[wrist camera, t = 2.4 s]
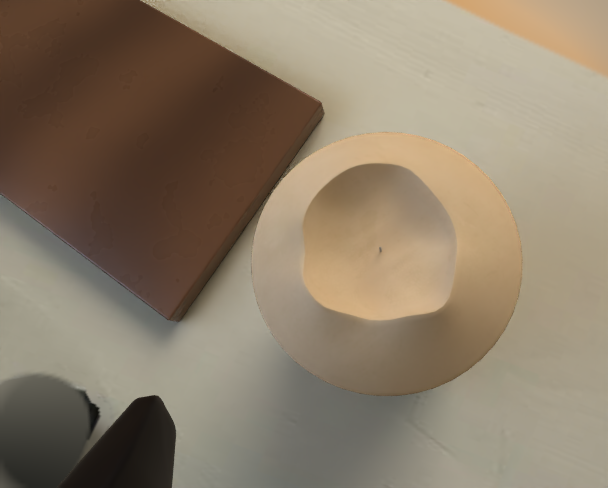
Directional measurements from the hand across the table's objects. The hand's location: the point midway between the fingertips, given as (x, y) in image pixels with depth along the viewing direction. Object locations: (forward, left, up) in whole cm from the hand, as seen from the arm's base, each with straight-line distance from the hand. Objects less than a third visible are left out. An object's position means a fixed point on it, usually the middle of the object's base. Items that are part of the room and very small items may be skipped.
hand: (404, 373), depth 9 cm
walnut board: (+14, +11, -9) cm, 20 cm away
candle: (+2, 0, -10) cm, 10 cm away
